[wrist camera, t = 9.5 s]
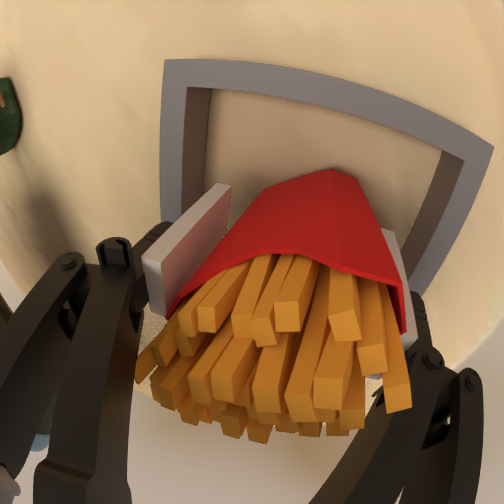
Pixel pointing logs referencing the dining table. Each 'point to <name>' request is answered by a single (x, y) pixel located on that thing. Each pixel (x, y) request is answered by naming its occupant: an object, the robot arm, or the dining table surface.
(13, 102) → the coffee jar
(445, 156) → the gray square frame
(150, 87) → the dining table surface
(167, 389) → the french fries
